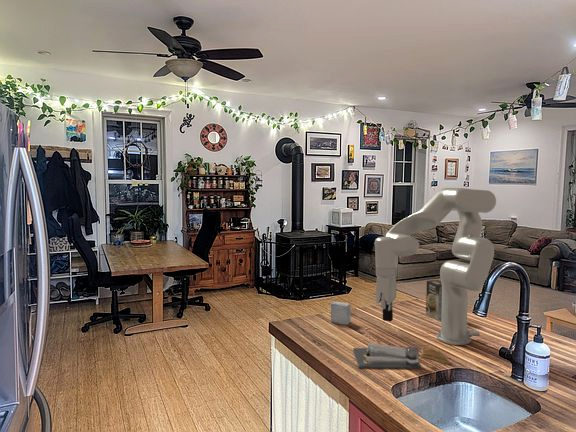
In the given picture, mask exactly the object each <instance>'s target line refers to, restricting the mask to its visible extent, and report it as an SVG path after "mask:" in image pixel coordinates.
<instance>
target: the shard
mask: <svg viewBox="0 0 576 432" xmlns="http://www.w3.org/2000/svg"><path fill="white" fill-rule="evenodd" d="M420 351H421V352H422V354H421V357H422V358H425V359H430V360H433V361H436V362H439V363H441V364H446V365H450V364H451V361H449V359H448V358H447V357H446V356H445V355H444V354H443V353H442V351H440V350H439V349H435V348H421V349H420Z"/></svg>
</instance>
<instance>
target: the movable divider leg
mask: <svg viewBox="0 0 576 432" xmlns="http://www.w3.org/2000/svg"><path fill="white" fill-rule="evenodd" d="M367 348H368V349H367V350H366V355H370V351H371V352H377V353H384V354H391V355H398V356H404V357H406V358H408V359H418V358H419V355H420V354H419V351H420V350H419V348H417V347H415V346H407V347H400V346H395V345H393V346H392V345H385V344H378V343H372V342H368V343H367Z"/></svg>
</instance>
